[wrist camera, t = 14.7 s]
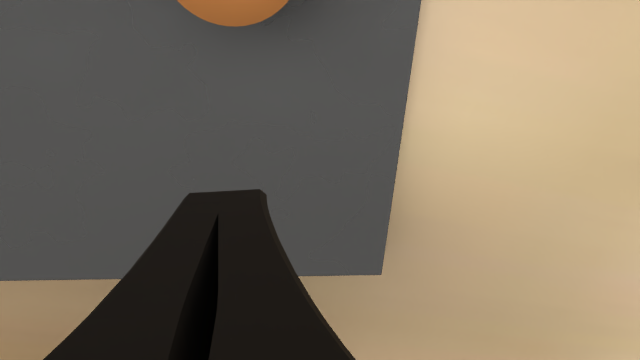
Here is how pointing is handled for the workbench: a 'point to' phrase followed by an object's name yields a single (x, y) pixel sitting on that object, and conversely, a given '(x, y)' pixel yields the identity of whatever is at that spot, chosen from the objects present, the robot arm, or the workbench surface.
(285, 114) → the crank base
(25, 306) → the workbench surface
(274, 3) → the crank
